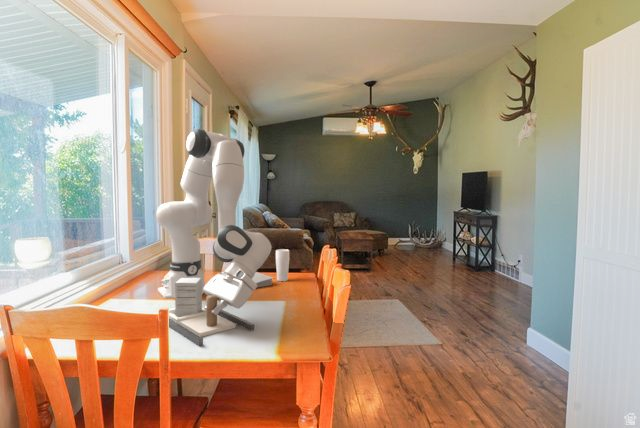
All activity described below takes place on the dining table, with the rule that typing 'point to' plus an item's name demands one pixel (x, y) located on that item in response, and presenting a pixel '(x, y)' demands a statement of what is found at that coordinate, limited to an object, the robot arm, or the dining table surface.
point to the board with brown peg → (203, 320)
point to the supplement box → (188, 296)
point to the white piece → (282, 264)
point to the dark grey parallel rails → (199, 340)
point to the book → (262, 279)
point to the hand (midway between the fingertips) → (209, 311)
